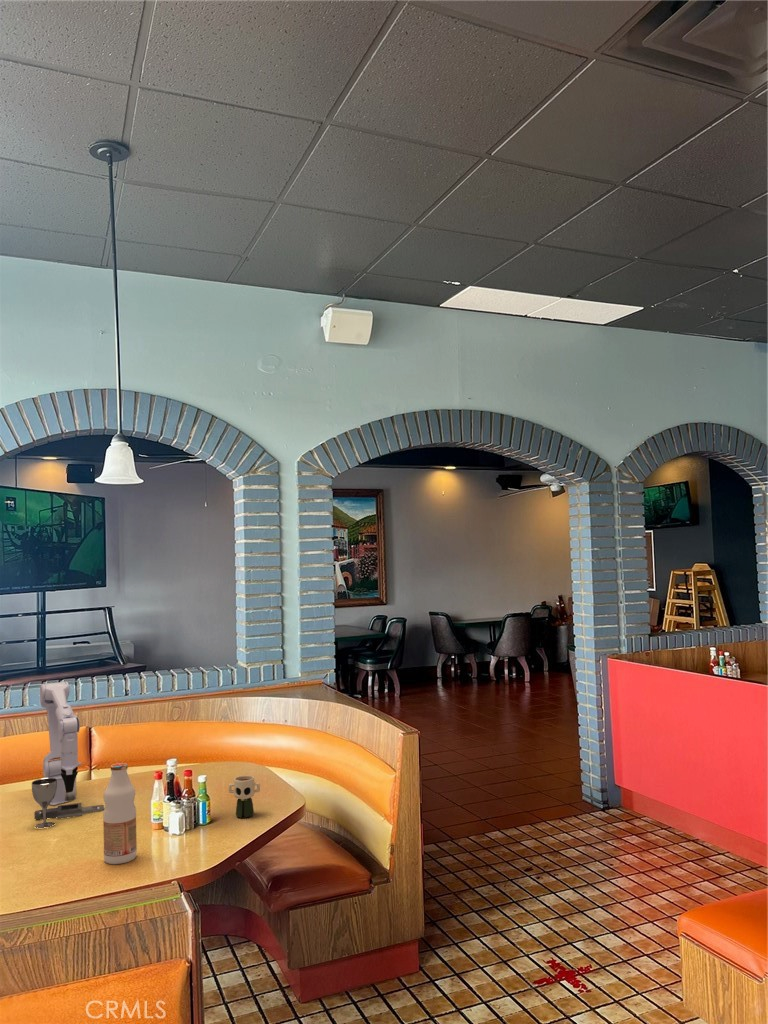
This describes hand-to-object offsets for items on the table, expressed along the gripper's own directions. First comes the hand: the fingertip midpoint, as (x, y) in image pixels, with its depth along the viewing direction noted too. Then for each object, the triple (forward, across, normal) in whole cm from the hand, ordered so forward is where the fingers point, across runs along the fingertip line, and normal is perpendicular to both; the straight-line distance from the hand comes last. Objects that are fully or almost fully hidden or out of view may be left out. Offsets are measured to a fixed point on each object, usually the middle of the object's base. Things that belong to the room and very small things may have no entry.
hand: (69, 790), depth 277 cm
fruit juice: (+9, -52, -14) cm, 54 cm away
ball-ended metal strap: (+8, 0, 0) cm, 8 cm away
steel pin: (+3, 0, 0) cm, 3 cm away
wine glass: (+9, -9, +8) cm, 15 cm away
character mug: (+9, -31, -56) cm, 65 cm away
